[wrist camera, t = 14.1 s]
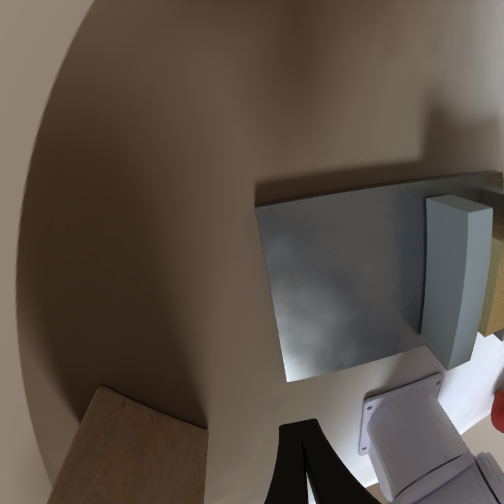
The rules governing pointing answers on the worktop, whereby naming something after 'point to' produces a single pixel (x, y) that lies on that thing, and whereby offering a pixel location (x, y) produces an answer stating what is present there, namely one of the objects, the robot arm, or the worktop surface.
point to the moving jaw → (455, 276)
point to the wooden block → (132, 457)
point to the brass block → (494, 283)
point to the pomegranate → (498, 411)
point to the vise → (356, 268)
